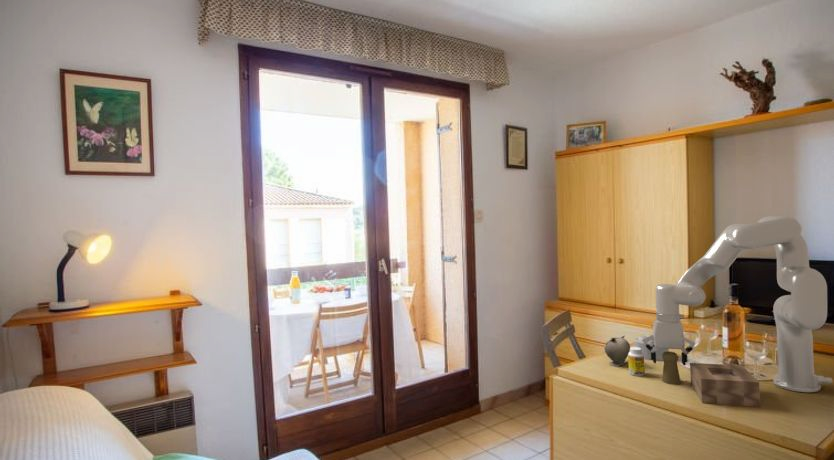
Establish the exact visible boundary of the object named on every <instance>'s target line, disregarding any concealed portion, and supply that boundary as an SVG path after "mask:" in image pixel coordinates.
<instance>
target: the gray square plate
mask: <svg viewBox="0 0 834 460" xmlns="http://www.w3.org/2000/svg"><path fill="white" fill-rule="evenodd" d="M711 374H712V375H722V376H733V375H732V374H731V373H716V372H711Z"/></svg>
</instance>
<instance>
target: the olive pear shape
mask: <svg viewBox="0 0 834 460" xmlns="http://www.w3.org/2000/svg"><path fill="white" fill-rule="evenodd" d="M662 358H663V360H664V361H663V367H662V379H661V381H662V382H663V383H665V384H667V385H673V386H675V385H680V384H681V383H682V381H681V377H680V373H679V367H678V363H677V362H678V360H679V356H678V354H677V353H676V351H675V352H674V351H670V350H668V352H664V353H663V354H662Z"/></svg>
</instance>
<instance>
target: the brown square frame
mask: <svg viewBox="0 0 834 460" xmlns="http://www.w3.org/2000/svg"><path fill="white" fill-rule="evenodd" d="M689 368H690V370H689V372H690V385H691V387H692V388H693V390H694V392H695V393H696V395H697V397H698V398H699V399H700V402H701V403H702V404H717V405H731V406H742V407H743V406H744V407H758V408H761V395H760V392H761V390H760V381H759V380H758V379H757V378H756V377H755V376H754V375H753V374H752V373H751V372H750V371H748V370H747V368H746V367H744V365H742V364H722V363H720V364H719V363H704V362H703V363H702V362H701V363H699V362H689ZM711 372H716V373H731V374H732V375H733V376H722V375H712V374H711Z"/></svg>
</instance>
